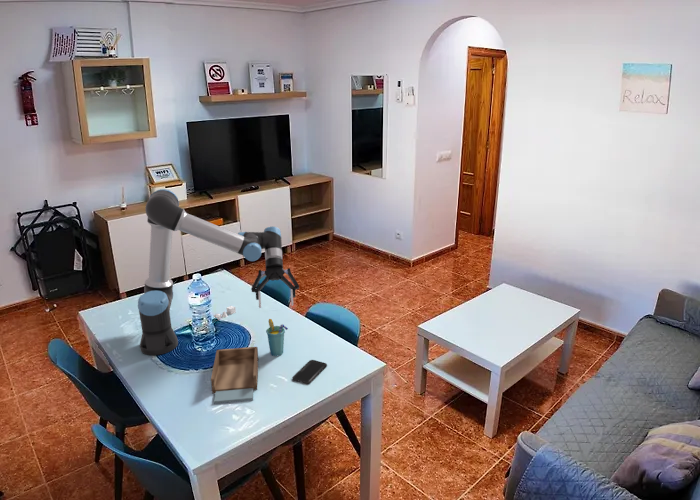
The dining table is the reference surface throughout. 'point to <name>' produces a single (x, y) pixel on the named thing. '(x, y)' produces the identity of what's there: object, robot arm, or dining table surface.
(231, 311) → the game pieces
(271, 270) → the robot arm
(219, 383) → the tray
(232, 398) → the panel
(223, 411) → the dining table surface
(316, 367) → the phone
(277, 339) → the cup
